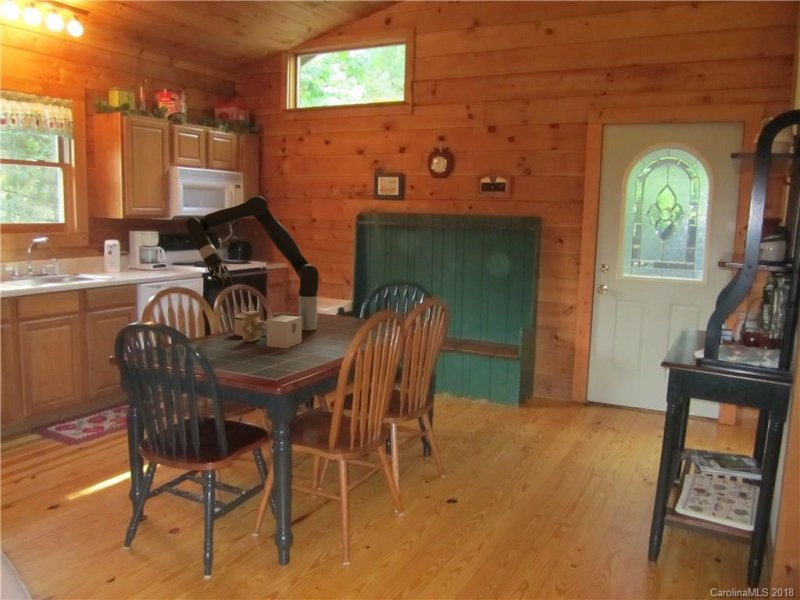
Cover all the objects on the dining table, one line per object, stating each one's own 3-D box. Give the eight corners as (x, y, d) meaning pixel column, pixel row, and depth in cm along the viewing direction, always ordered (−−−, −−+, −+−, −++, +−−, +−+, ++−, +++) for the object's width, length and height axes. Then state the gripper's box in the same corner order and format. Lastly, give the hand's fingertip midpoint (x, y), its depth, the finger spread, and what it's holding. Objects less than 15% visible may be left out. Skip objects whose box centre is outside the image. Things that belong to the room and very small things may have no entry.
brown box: (243, 341, 301) (242, 313, 299) (252, 337, 308) (252, 310, 306) (272, 344, 296) (272, 315, 294) (281, 340, 303) (281, 313, 301)
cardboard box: (266, 346, 293) (266, 319, 292) (282, 340, 306) (282, 315, 305) (286, 348, 290) (286, 321, 288) (301, 342, 303) (301, 317, 301)
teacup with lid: (251, 336, 314) (251, 312, 312) (232, 336, 313) (232, 312, 312) (256, 331, 326) (255, 308, 324) (237, 331, 325) (237, 308, 324)
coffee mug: (296, 332, 327) (296, 312, 325) (291, 336, 317) (291, 315, 316) (270, 331, 328) (270, 311, 327) (264, 335, 318) (264, 314, 317)
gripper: (208, 251, 301) (225, 281, 300) (224, 252, 315) (240, 281, 314) (196, 260, 303) (213, 290, 302) (212, 260, 317) (228, 289, 316)
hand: (227, 285), depth 308 cm, fingers open, 8 cm apart
